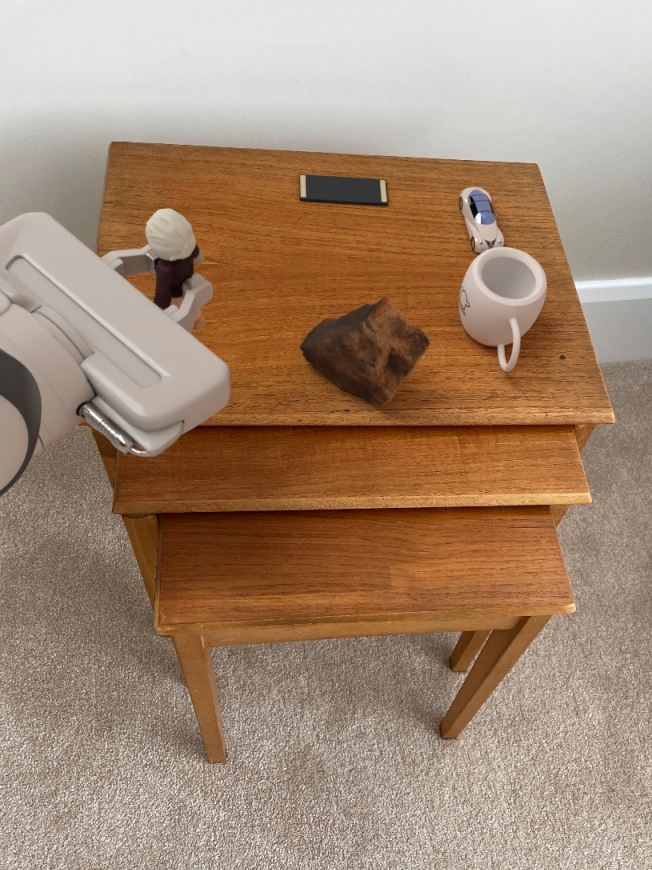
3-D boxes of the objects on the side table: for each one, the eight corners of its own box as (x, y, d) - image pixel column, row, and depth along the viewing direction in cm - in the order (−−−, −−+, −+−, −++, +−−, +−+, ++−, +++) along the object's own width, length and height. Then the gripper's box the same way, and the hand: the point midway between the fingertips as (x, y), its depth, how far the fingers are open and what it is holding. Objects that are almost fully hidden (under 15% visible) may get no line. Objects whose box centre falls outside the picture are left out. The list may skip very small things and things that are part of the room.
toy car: (479, 277, 87) (485, 260, 84) (455, 197, 91) (460, 179, 89) (510, 275, 87) (516, 259, 85) (484, 196, 92) (490, 178, 90)
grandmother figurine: (168, 293, 66) (150, 172, 54) (213, 302, 66) (206, 183, 55) (146, 367, 62) (122, 255, 51) (194, 376, 63) (182, 266, 51)
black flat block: (299, 201, 88) (299, 198, 88) (299, 176, 90) (299, 173, 89) (387, 206, 89) (387, 203, 89) (385, 181, 91) (385, 178, 91)
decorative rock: (420, 387, 79) (441, 319, 70) (387, 428, 77) (404, 362, 67) (323, 327, 81) (330, 252, 71) (288, 365, 78) (291, 292, 69)
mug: (445, 294, 85) (461, 241, 78) (519, 294, 86) (542, 241, 79) (463, 387, 80) (482, 339, 73) (542, 384, 81) (568, 337, 74)
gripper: (133, 445, 48) (288, 322, 54) (-82, 253, 52) (85, 158, 57) (146, 491, 54) (285, 375, 59) (-49, 315, 57) (101, 222, 63)
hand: (185, 267), depth 58 cm, fingers closed on grandmother figurine, 3 cm apart
